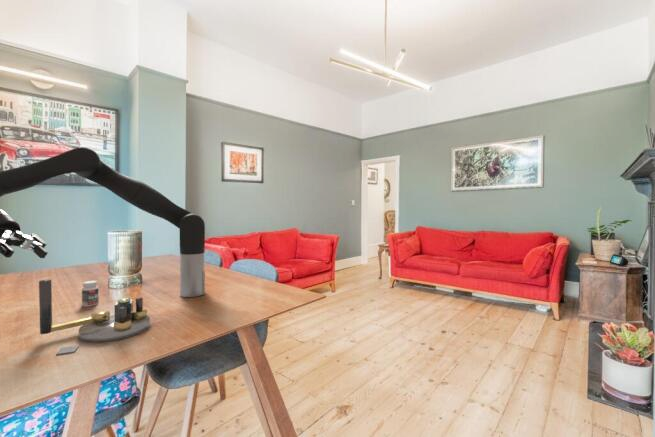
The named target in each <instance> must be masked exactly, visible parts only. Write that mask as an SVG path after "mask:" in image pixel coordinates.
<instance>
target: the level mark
mask: <svg viewBox="0 0 655 437" xmlns="http://www.w3.org/2000/svg"><path fill="white" fill-rule="evenodd" d="M79 347H80V345H79V344H78V345H72V346H71V345H70V346H65V347H60V349H59V350H58V351H57V352H56V353H55V356H61V355H67V354H73V353H76V351H77V350H78V349H79Z"/></svg>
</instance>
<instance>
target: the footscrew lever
mask: <svg viewBox="0 0 655 437" xmlns="http://www.w3.org/2000/svg"><path fill="white" fill-rule="evenodd" d="M38 294H39V296H38V297H39V298H38V300H39V302H38V303H39V304H38V305H39V334H40V335H48V334H51V333H53V332H59V331H63V330H67V329H71V328H74V327H75V328H76V327H79V326H80V327H81V326H83V325H85V324H89V323H93V322H94V323H98V322H104V321H107V320H109V319H110V316H111V311H110V310H100V311H95V312H92V313H91V316H89V317H85V318H84V317H83V318H81V319H77V320H76V319H75V320H70V321H67V322H61V323H59V324H58V323H57V324H53V304H52V303H53V301H52V300H53V299H52V298H53V296H52V295H53V292H52V279H41V280H39V281H38Z"/></svg>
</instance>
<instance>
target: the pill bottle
mask: <svg viewBox="0 0 655 437" xmlns="http://www.w3.org/2000/svg"><path fill="white" fill-rule="evenodd" d="M99 297H100V296H99V286H98V281H97V280H87V281H84V282H83V283H82V289H81V305H82V307H85V308H86V307H92V306H94V307H95V306H96V305H99V303H100V300H99Z"/></svg>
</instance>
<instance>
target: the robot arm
mask: <svg viewBox="0 0 655 437" xmlns="http://www.w3.org/2000/svg"><path fill="white" fill-rule="evenodd" d="M73 173H74V174H76V175H78V176H79V177H82V178H84V179H86V180H89V181H91V182H93V183H95V184H97V185H100V186H102V187H103V188H105V189H107V190H109V191H111V192H112V193H113V194H114V195H116V196H117V197H119V198H121V199H122V200H124V201H126V202H127V203H129V204H130V205H133V206H134V207H136V208H137V209H140V210H142V212H145V213H148V214H150V215H153V216H155V217H158V218H160V219H163V220H165V221H167V222H169V223H170V224H172V225H174V226H175V227H177V228H178V229H179V296H180V297H182V298H194V297H196V298H197V297H200V296H204V295H206V271H205V246H206V245H205V243H206V240H205V239H206V236H205V235H206V229H205V228H206V223H205V221H204V219H203V217H202V216H200V215H199V214H196V213H193V212H191V211H189V210H187V209H184V208H183V207H182V206H179V205H177V204H176V203H174V202H173V201H172V200H170V199H169V198H167V197H166V196H165V195H164V194H162V193H161V192H159V191H158V190H156V189H155V188H153V187H151V186H150V185H148V184H146V183H144V182H143V181H141V180H139V179H137V178H134V177H130V176H127V175H125V174H122V173H120V172H118V171H116V170H115V169H113V168H112V167H110V166H108V165H107V164H106V163H105V162H103V161H102V160H101V159H100V157H99V154H98V153H97V152H96V151H95V150H93V149H91V148H90V147H89V148H88V147H84V146H82V147H76V148H75V147H74V148H72V149H69V150H67V151H65V152H62V153H59V154H57V155H55V156H52V157H49V158H45V159H43V160H40V161H36V162H34V163H30V164H26V165H23V166H18V167H14V168H9V169H5V170H2V171H0V198H1V197H3V196H5V195H8V194H12V193H13V194H14V193H17V192H20V191H22V190H27V189H30V188H32V187H35V186H38V185H40V184H41V183H43V182H47V181H48V180H50V179H52V178H56V177H59V176H61V175H66V174H73ZM26 241H27V242H26ZM25 242H26V243H25ZM24 243H25V244H24ZM47 245H48V243H47V242H45V240H43V239H42V238H41V237H39V236H38V234H36V233H31V234H30V235H28V234H26V233H24V232H22V231H21V225H20V224H19V223H18V222H17V221H16V220H14V218H13V217H11V215H9V214H8V213H7V212H6V211H5V210H4V209H1V208H0V254H1V255H2V256H3V257H4V258H8V259H9V258H11V257H12V256H13V254H15V250H14V249H13V248H11V247H12V246H13V247H19V248H21V249H23V250H27V249H28V250H30V251H31V252H32V251H33V253H34V254H35V255H36V256H37V257H39V258H40V259H45V258H46V256H47V255H48V254H49V253H48V251H47V250H46V249H45V247H46V246H47Z"/></svg>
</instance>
